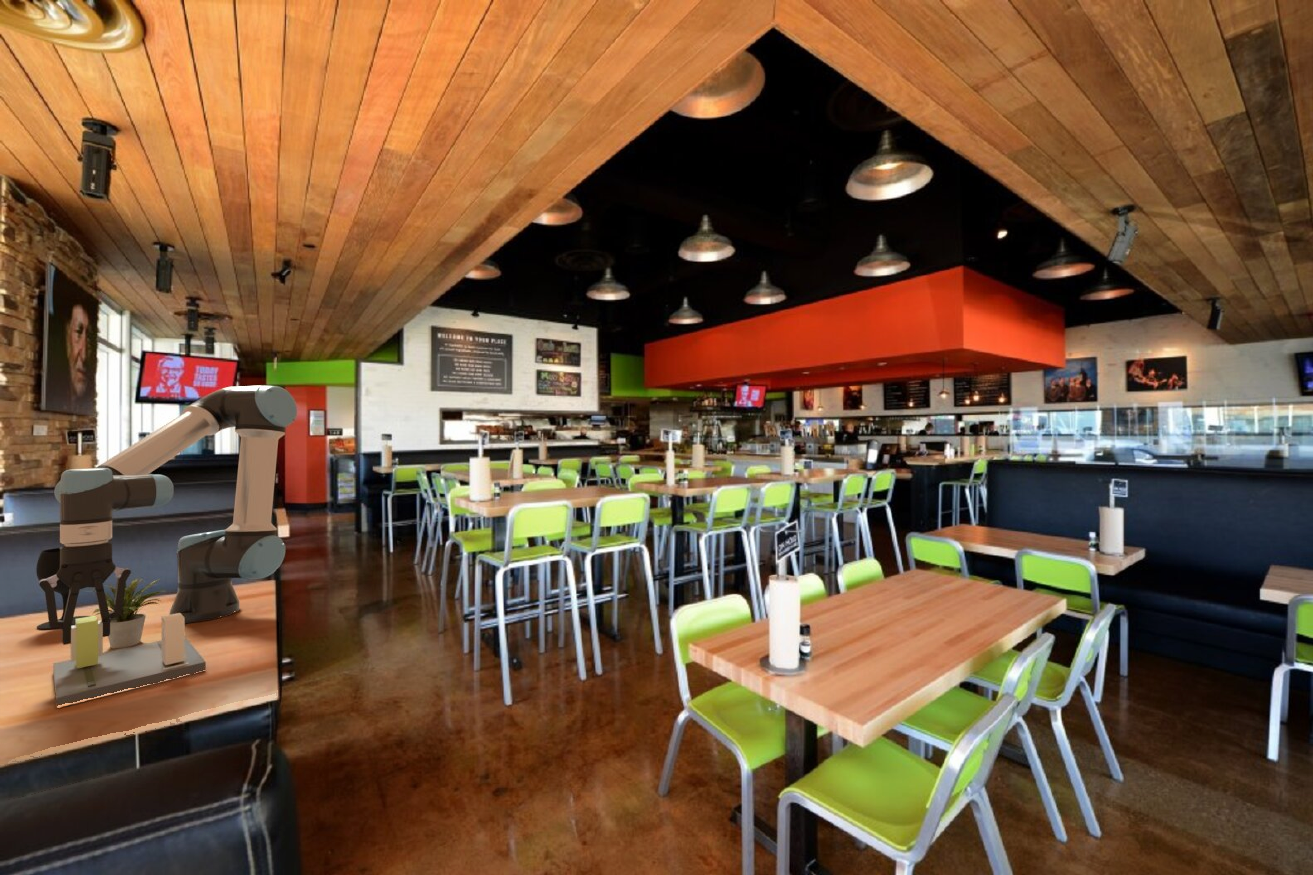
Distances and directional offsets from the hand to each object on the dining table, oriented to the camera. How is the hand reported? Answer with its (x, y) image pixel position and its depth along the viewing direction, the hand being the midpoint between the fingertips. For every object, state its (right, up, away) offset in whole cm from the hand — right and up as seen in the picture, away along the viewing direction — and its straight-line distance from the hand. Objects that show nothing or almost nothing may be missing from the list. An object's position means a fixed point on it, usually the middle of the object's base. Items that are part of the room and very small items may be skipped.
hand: (86, 655), depth 113 cm
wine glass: (-40, -5, +33) cm, 52 cm away
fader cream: (+17, -1, +1) cm, 17 cm away
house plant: (-9, -4, +16) cm, 19 cm away
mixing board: (+8, -4, +1) cm, 9 cm away
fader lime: (0, -2, 0) cm, 2 cm away
